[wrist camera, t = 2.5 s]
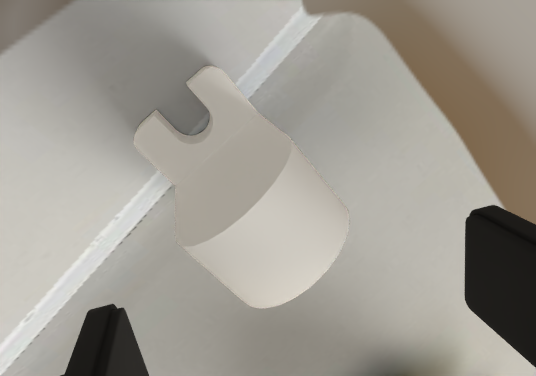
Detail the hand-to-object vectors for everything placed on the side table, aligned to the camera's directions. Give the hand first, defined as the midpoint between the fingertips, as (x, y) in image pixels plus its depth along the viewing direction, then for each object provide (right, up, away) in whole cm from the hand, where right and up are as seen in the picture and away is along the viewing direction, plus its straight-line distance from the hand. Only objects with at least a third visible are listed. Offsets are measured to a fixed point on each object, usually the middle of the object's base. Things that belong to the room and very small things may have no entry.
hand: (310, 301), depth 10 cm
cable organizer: (-3, +4, +11) cm, 12 cm away
